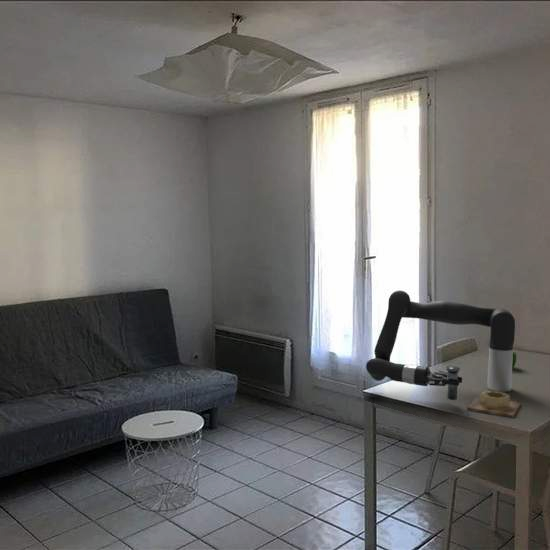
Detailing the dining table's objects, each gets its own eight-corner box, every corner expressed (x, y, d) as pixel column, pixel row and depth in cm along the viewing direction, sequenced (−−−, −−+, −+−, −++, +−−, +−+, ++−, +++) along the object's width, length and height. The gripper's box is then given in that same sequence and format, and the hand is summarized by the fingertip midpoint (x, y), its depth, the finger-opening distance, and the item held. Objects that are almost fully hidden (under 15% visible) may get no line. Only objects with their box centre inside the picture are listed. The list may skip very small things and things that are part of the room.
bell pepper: (512, 366, 284) (513, 345, 283) (518, 370, 275) (519, 349, 274) (494, 365, 284) (495, 345, 283) (499, 370, 276) (500, 349, 275)
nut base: (467, 409, 221) (468, 396, 221) (477, 398, 235) (478, 386, 234) (513, 417, 213) (513, 404, 212) (520, 405, 226) (521, 392, 226)
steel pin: (443, 396, 228) (444, 366, 227) (455, 396, 229) (456, 365, 228) (449, 400, 224) (449, 369, 222) (461, 400, 224) (461, 369, 223)
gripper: (410, 370, 227) (455, 376, 218) (421, 361, 239) (465, 367, 230) (409, 389, 227) (455, 396, 218) (421, 379, 239) (465, 386, 230)
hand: (460, 381), depth 224 cm, fingers closed on steel pin, 3 cm apart
